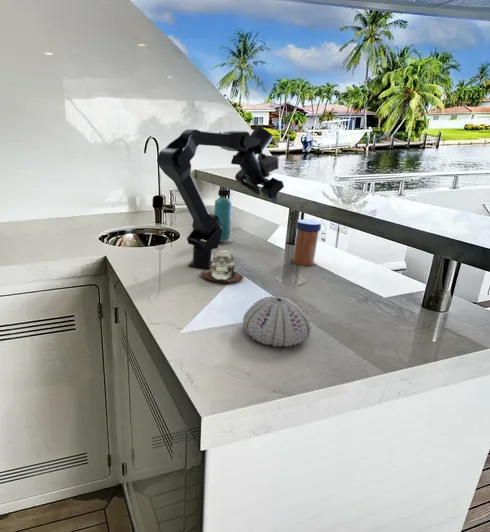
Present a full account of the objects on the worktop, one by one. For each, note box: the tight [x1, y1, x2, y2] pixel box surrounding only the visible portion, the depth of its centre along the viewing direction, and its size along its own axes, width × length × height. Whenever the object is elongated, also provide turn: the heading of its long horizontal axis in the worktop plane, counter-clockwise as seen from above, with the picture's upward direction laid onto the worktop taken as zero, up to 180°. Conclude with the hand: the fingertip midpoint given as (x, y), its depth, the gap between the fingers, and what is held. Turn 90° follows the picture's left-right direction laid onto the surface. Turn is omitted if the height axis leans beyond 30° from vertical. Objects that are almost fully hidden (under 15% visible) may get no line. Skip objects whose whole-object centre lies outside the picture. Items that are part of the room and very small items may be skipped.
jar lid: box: [296, 219, 322, 232], centre depth 120 cm, size 7×7×2 cm
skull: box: [200, 249, 244, 283], centre depth 109 cm, size 12×10×10 cm
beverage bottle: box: [213, 188, 233, 241], centre depth 142 cm, size 6×7×20 cm
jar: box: [292, 228, 320, 267], centre depth 122 cm, size 6×6×13 cm
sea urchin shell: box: [242, 296, 312, 348], centre depth 77 cm, size 13×14×8 cm
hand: (267, 198), depth 130 cm, fingers open, 9 cm apart
